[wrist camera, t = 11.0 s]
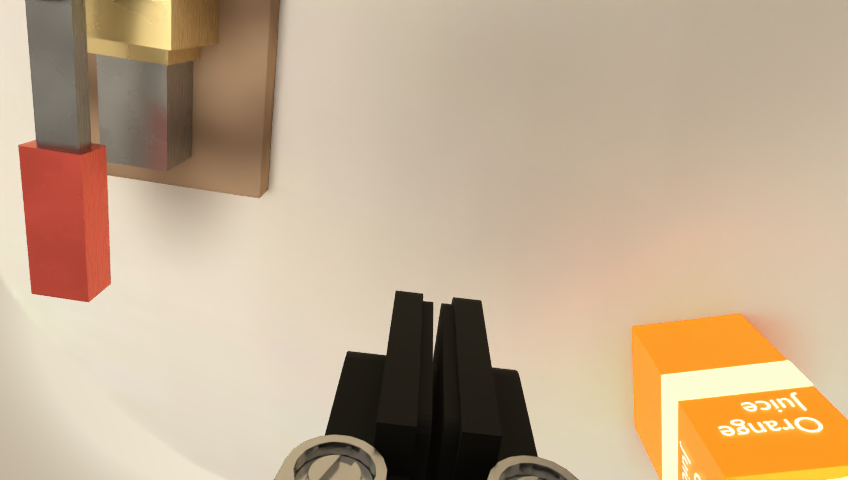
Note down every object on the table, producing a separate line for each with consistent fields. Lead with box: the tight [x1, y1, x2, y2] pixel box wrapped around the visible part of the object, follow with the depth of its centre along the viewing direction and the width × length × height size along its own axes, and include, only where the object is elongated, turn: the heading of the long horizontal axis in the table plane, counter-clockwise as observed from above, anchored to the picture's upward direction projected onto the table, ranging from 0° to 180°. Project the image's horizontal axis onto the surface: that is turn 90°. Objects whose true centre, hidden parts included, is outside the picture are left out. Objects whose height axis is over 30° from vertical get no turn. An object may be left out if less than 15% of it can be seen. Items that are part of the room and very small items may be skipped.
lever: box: [19, 0, 111, 302], centre depth 25 cm, size 3×16×3 cm, turn 171°
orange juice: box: [632, 314, 848, 480], centre depth 34 cm, size 8×9×20 cm
